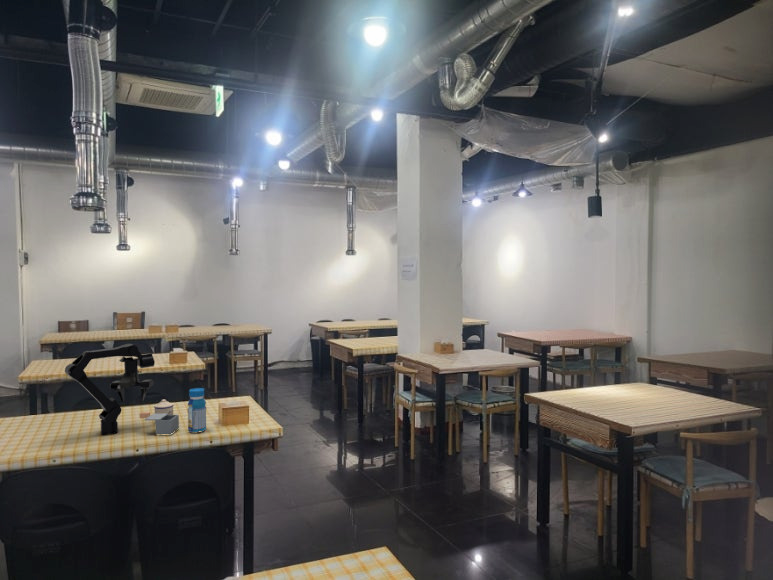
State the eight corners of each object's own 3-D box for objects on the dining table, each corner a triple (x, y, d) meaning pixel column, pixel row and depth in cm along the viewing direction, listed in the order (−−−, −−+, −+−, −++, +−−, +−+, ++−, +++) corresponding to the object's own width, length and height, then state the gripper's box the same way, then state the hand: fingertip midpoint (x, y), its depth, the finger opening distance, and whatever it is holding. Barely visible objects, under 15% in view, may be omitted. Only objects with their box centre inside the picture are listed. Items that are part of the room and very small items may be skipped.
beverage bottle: (200, 434, 243) (199, 391, 243) (184, 433, 245) (183, 391, 244) (209, 429, 251) (209, 387, 251) (194, 428, 253) (193, 387, 253)
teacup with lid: (169, 425, 258) (169, 401, 258) (151, 425, 258) (150, 402, 257) (178, 418, 270) (178, 396, 270) (160, 418, 270) (160, 396, 269)
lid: (135, 420, 241) (135, 415, 241) (145, 414, 251) (145, 409, 251) (159, 420, 241) (159, 415, 241) (168, 414, 251) (168, 409, 251)
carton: (155, 435, 241) (155, 420, 241) (164, 429, 251) (164, 414, 251) (171, 435, 241) (170, 420, 241) (178, 429, 251) (178, 414, 251)
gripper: (103, 374, 244) (104, 406, 244) (143, 372, 244) (145, 405, 245) (114, 369, 255) (116, 400, 256) (153, 368, 255) (154, 399, 256)
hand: (132, 401), depth 253 cm, fingers open, 9 cm apart
